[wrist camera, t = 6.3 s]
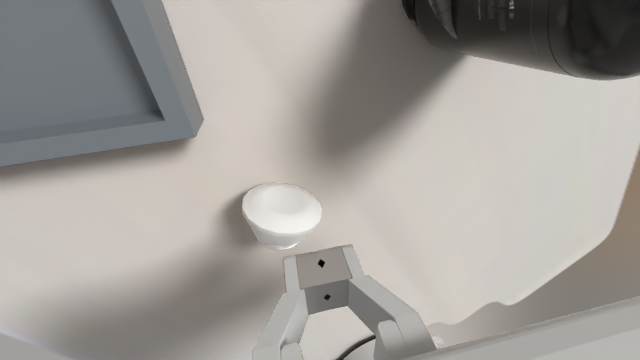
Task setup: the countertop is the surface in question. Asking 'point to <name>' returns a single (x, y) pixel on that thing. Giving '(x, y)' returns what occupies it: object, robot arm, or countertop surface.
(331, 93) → the countertop surface
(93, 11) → the tray
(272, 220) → the small white bowl
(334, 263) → the robot arm
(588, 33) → the supplement bottle
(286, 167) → the countertop surface
